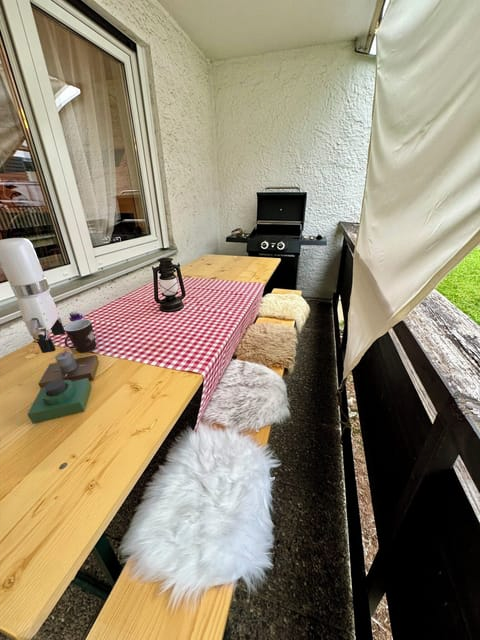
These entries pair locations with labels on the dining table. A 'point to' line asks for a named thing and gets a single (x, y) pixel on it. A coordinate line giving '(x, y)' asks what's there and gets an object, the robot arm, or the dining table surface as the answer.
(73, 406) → the green flat block
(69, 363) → the dial
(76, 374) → the dial panel
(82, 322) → the coffee mug
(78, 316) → the potion bottle
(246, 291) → the dining table surface
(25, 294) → the robot arm
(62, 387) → the dark grey short cylinder
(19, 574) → the dining table surface
